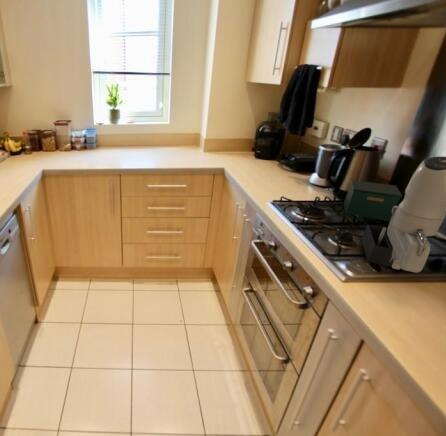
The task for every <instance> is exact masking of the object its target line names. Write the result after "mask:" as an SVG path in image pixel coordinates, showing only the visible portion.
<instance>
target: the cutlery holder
mask: <svg viewBox="0 0 446 436" xmlns="http://www.w3.org/2000/svg"><path fill="white" fill-rule="evenodd" d="M387 229H388V227H384V226H383V227H381V226H377V225H371V224H367V225H366V226H365V230H364V231H363V235H362V237H361V243H362V246H363V250H364V255H365V258H366V261H367V263H370V264H371V263H372V264H375V265H376V264H377V265H381V266H386V267H390V268H392V266H391V263H390V260H391V258H392V251H393V247H392V245H391V242H390V240H389V237H388V235H387ZM399 270H402V269H401V268H400V269H399Z"/></svg>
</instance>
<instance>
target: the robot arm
mask: <svg viewBox="0 0 446 436" xmlns="http://www.w3.org/2000/svg"><path fill="white" fill-rule="evenodd" d="M445 218H446V156H432V157H428V158H425V159H424V160H423V161H421V162H420V164H419V165H418V166H417V168H416V169H415V171H414V172H413V173H412V176H411V177H410V179H409V182H408V184H407V186H406V188H405V190H404V197H403V199H402V201H401V202H400V203H398V205H397V206H394V207H393V209H392V217H391V220H390V222H389V223H388V226H387V228H388V229H387V235H388V237H389V240H390V242H391V245H392V247H391V248H392V249H393V251H392V258H391V260H390V263H391V266H392V267H391V268H392V269H393V270H394V269H395V270H403V271H405V272H410V273H411V272H412V273H421V272H422V270H423V269H424V267H425V265H426V262H427V261H428V258H429V255H430V252H431V244H430V242H429V240H428V237H433V236H435V235H436V234H437V233H438V231H439V229H440V227H441V226H442V224H443V222H444V219H445ZM400 268H401V269H400Z"/></svg>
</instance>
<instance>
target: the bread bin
mask: <svg viewBox="0 0 446 436" xmlns="http://www.w3.org/2000/svg"><path fill="white" fill-rule="evenodd" d="M347 190H348V191H347V193H346V195H345V198H344V202H343V208H344V214H345V215H348V216H353V217H360V218H364V219H365V218H366V219H372V220H378V221H385V222H389V223H390V220H391V217H392V209H393V207H394V206H398V205H399V202H400V199H402V197H403V194H402V193H401V191H400V190H399V187H397V185H394V184H385V183H377V182H370V181H363V180H355V179H351V180H350V184H349V187H348V189H347Z"/></svg>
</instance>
